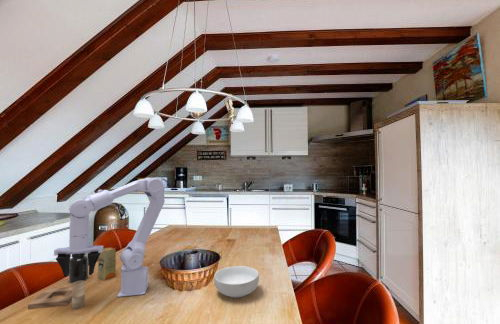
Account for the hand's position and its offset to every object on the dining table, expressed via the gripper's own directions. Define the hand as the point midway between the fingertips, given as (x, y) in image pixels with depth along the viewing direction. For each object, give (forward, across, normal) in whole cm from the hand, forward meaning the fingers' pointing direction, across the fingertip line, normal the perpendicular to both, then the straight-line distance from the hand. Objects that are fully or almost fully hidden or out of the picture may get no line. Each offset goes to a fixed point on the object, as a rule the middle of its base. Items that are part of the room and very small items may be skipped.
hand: (78, 274), depth 89 cm
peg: (+10, 0, 0) cm, 11 cm away
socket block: (+10, +10, -8) cm, 16 cm away
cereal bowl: (+11, -54, +2) cm, 55 cm away
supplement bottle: (+11, +10, -25) cm, 29 cm away
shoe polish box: (+11, -1, -25) cm, 27 cm away
